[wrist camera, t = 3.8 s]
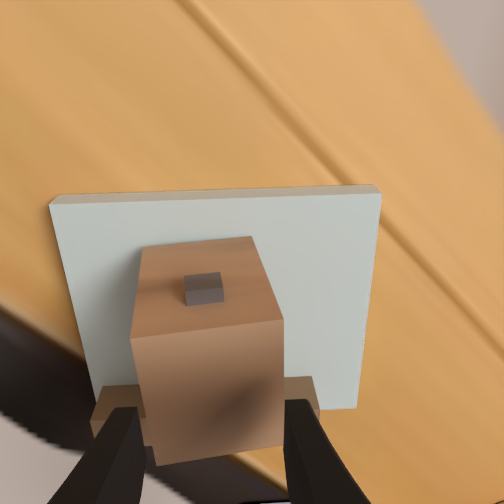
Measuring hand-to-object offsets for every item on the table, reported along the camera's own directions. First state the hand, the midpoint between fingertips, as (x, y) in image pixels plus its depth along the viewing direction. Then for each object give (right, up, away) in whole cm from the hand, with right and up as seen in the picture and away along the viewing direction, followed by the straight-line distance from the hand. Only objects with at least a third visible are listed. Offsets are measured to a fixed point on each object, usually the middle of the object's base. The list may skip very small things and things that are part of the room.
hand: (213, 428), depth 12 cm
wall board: (0, +2, +9) cm, 9 cm away
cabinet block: (-1, +3, +7) cm, 8 cm away
